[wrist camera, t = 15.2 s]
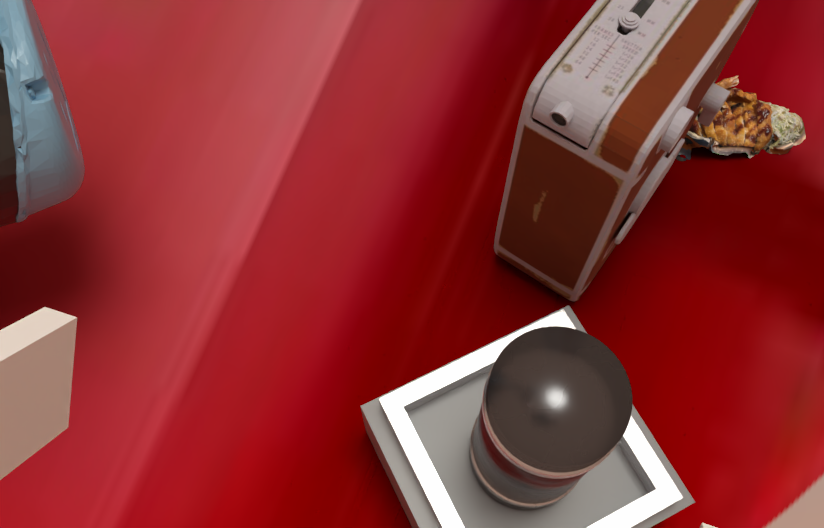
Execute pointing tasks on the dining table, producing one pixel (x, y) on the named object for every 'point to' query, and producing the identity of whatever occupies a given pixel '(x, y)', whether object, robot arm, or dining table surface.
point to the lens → (548, 416)
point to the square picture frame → (477, 365)
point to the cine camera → (609, 130)
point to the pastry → (745, 127)
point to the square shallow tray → (480, 514)
